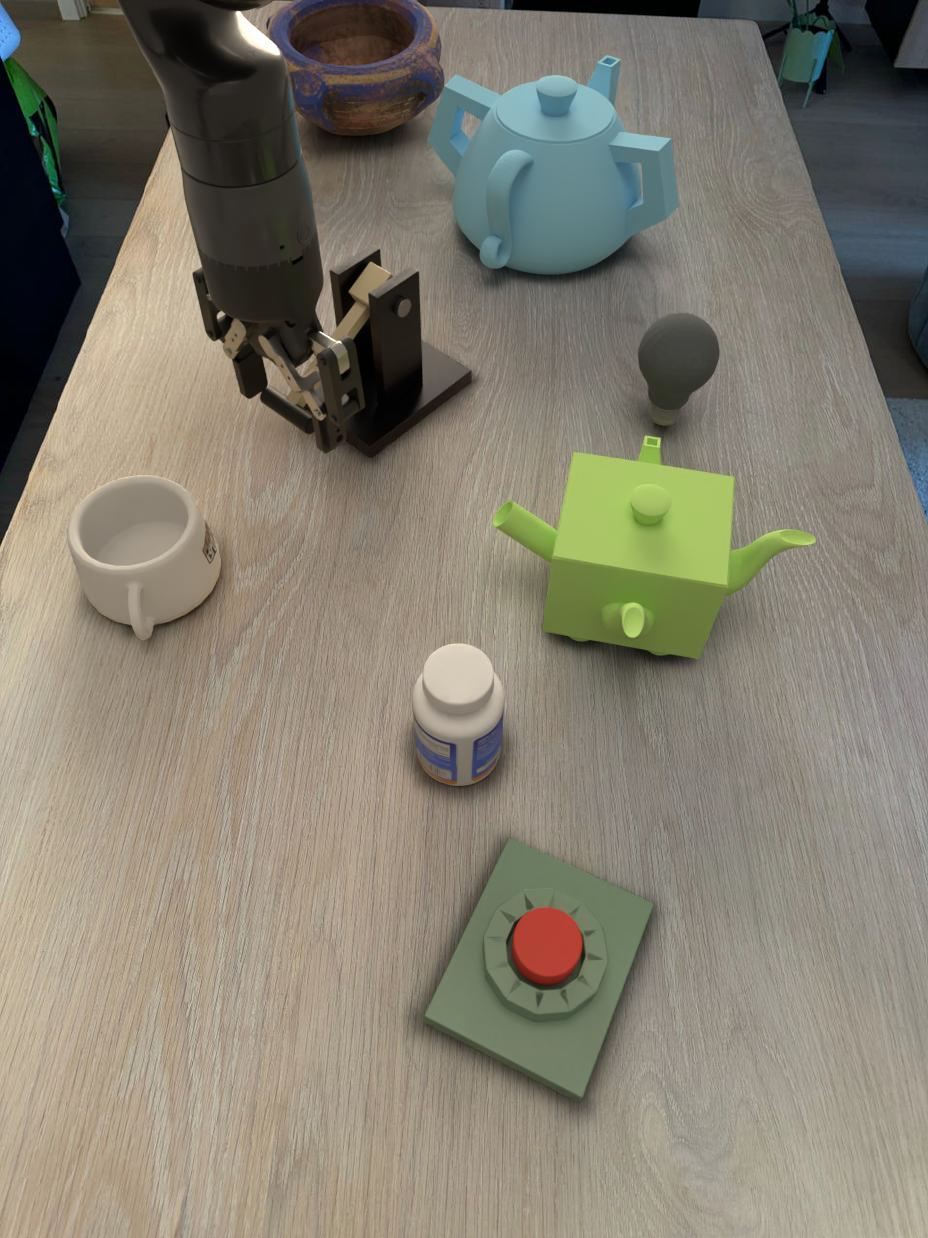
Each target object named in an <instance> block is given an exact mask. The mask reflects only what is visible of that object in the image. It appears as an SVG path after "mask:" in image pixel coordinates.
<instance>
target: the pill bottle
mask: <svg viewBox="0 0 928 1238" xmlns="http://www.w3.org/2000/svg"><path fill="white" fill-rule="evenodd" d="M411 699H412V701H411V702H412V705H411V706H412V716H413V718H412V719H413V728H414V741H415V751H416V755H417V759H418V762H419V764H420V765H421V767H422V769H423V770H424V772H425V773H426V774H427V775H428V776H429V777H430V778H431V779H433V780H435V781H437V782H439V783H442V784H444V785H448V786H453V787H454V786H455V787H463V786H470V785H474V784H476V783H478V782H480V781H482V780H484V779H485V778H486V777H488V776H489V775H490V774H491V773H492V771H494V769H495V768H496V766H497V764H498V762H499V759H500V754H501V752H502V751H501V750H502V742H503V741H502V740H503V730H504V729H503V727H504V715H505V700H506V699H505V690H504V687H503V684H502V682H501V679H500V678H499V676H498V675H497V674H496V672H494V667H493V664H492V662H491V660H490V659H489V657H488V656H487V655H486V653H484V651H482V650H481V649H479V648H477V647H476V646H474V645H472V644H471V645H470V644H467V643H450V644H449V643H448V644H445V645H443V646H441V647H439V648H437V649H436V650H434V651H433V652H431V654H430V655H429V656H428V658H427V659H426V661H425V663H424V665H423V669H422V672H421V674H420V675H419V677H418V678H417V680H416V682H415V684H414V688H413V691H412V698H411Z"/></svg>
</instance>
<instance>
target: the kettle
mask: <svg viewBox="0 0 928 1238" xmlns="http://www.w3.org/2000/svg"><path fill="white" fill-rule="evenodd" d="M661 440H662V438H661V437H657V436H651V435H644V438H643V441H642V444H641V447H640V451H639V455H638V457H637V460H633V459H627V458H626V459H625V458H619V457H611V456H605V455H599V454H592V453H586V452H585V453H584V452H578V451H574V452H572V457H571V461H570V465H569V469H568V474H567V475H568V476H567V481H566V486H565V491H564V495H563V501H562V506H561V511H560V516H559V522H558V525H557V529H555V528H554V527H553V526H551V525H550V524H548V523H547V522H545V521H544V520H542V519H540V518H539V517H538V516H536V515H535V514H534V513H531V512H530V511H528V510H527V509H525V508H524V507H523V506H521V505H520V504H518V503H517V502H515V501H514V500H512V499H509V500H507V501H505V502H503V504H501V506H499V508H498V509H497V511H496V512H495V514H494V516H493V519H492V526H493V527H494V528H496V529H497V530H498V531H500V532H502V533H503V534H505V535H506V536H508V537H509V538H511V539H512V540H514V541H515V542H517V543H518V544H520V545H521V546H523V547H524V548H526V549H527V550H529V551H530V552H532V553H534V554H535V555H537V556H538V557H539V558H541V559H543V560H544V561H545V562H547V563H549V564H550V571H549V577H548V582H547V583H548V584H547V591H546V597H545V606H544V613H543V619H542V628H541V632H545V633H550V634H556V635H561V636H568V637H569V638H570V639H571V640H574V641H576V642H588V641H595V642H600V643H606V644H612V645H616V646H623V647H628V648H632V649H633V648H634V649H640V650H644V651H648V652H650V654H652V655H655V656H660V657H661V656H667V655H672V656H673V655H674V656H678V657H684V658H691V659H697V660H700V659H701V655H702V654H703V651H704V649H705V646H706V643H707V642H708V639H709V636H710V633H711V631H712V629H713V626H714V624H715V621H716V619H717V616H718V613H719V611H720V609H721V606H722V604H723V601H724V599H725V597H728V596H732V595H734V594H736V593H737V592H740V591H741V590H743V589H744V588H745V587H746V586H748V585H749V584H750V583H751V582H752V580H754V579H755V578H756V577H757V575H758V574H759V573H760V572H761V570H762V569H763V568H764V567H765V566H766V565H767V564H768V563H769V562H770V561H771V560H772V559H774V557H776V556H777V555H779V554H780V553H782V552H783V553H784V552H785V551H787V550H791V549H796V548H802V547H808V546H811V545H813V544H814V543H816V541H817V538H816V537H815V536H814V534H811V533H809V532H806V531H803V530H798V529H778V530H773V531H771V532H768V533H765V534H763V535H762V536H760V537H758V538H756V539H755V540H754V541H752V542H750V543H749V544H747V545H745V546H744V547H741V548H736V549H731V548H732V531H733V517H734V502H735V500H734V499H735V486H736V485H735V484H736V477H735V476H731V475H725V474H720V473H714V472H706V471H701V470H695V469H688V468H684V467H683V468H682V467H677V466H671V465H663V464H662V452H661V451H662V450H661Z"/></svg>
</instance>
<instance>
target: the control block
mask: <svg viewBox="0 0 928 1238" xmlns="http://www.w3.org/2000/svg"><path fill="white" fill-rule="evenodd" d="M654 906H655V903H653V902H652V901H650V900H648V899H645V898H643V897H641V896H639V895H637V894H635V893H632V892H630V891H628V890H626V889H623V888H621V887H619V886H617V885H615V884H613V883H610V882H608V881H607V880H604V879H602V878H599V877H598V876H595V875H593V874H591V873H589V872H587V871H584V870H582V869H580V868H578V867H575V866H573V865H571V864H569V863H566V862H565V861H563V860H560V859H559V858H555V857H554V856H551V855H549V854H547V853H545V852H543V851H541V850H538V849H536V848H534V847H532V846H529V845H527V844H526V843H523V842H521V841H519V840H517V839H514V838H512V837H508V838H507V840H506V842H505V845H504V847H503V848H502V851H501V852H500V855H499V857H498V859H497V861H496V863H495V866H494V867H493V870H492V872H491V873H490V876H489V878H488V880H487V882H486V885H485V887H484V889H483V890H482V893H481V895H480V897H479V899H478V901H477V903H476V905H475V908H474V910H473V912H472V914H471V916H470V917H469V919H468V922H467V923H466V925H465V929H464V930H463V932H462V935H461V937H460V939H459V940H458V943H457V945H456V947H455V949H454V951H453V954H452V956H451V957H450V960H449V962H448V964H447V967H446V968H445V970H444V973H443V975H442V976H441V979H440V981H439V983H438V985H437V987H436V990H435V992H434V993H433V996H432V998H431V1000H430V1002H429V1004H428V1006H427V1008H426V1010H425V1012H424V1014H423V1016H424V1023H425V1024H427V1025H428V1026H429V1027H430V1026H431V1027H432V1028H434V1029H436V1030H438V1031H440V1032H442V1033H444V1034H446V1035H448V1036H450V1037H451V1038H453V1039H455V1040H458V1041H459V1042H461V1043H463V1044H465V1045H467V1046H469V1047H470V1048H473V1049H474V1050H476V1051H478V1052H480V1053H482V1054H484V1055H486V1056H487V1057H490V1058H491V1059H493V1060H495V1061H498V1062H499V1063H501V1064H503V1065H505V1066H507V1067H509V1068H511V1069H512V1070H515V1071H516V1072H519V1073H521V1074H523V1075H524V1076H526V1077H528V1078H530V1079H532V1080H534V1081H536V1082H538V1083H540V1084H542V1085H544V1086H545V1087H548V1088H549V1089H552V1090H553V1091H554V1092H557V1093H559V1094H561V1095H563V1096H565V1097H566V1098H569V1099H571V1100H572V1101H573V1102H574V1101H575V1102H576V1103H580V1102H581V1100H582V1099H583V1098H584V1096H585V1093H586V1090H587V1088H588V1085H589V1083H590V1080H591V1076H592V1075H593V1071H594V1068H595V1066H596V1063H597V1061H598V1058H599V1055H600V1053H601V1050H602V1047H603V1043H604V1041H605V1039H606V1036H607V1034H608V1031H609V1028H610V1025H611V1022H612V1020H613V1016H614V1015H615V1011H616V1009H617V1006H618V1004H619V1001H620V998H621V996H622V992H623V990H624V988H625V985H626V982H627V979H628V976H629V974H630V971H631V969H632V966H633V963H634V960H635V958H636V955H637V952H638V949H639V947H640V944H641V941H642V938H643V936H644V933H645V930H646V928H647V925H648V922H649V920H650V917H651V914H652V911H653V909H654ZM540 907H552V908H556V909H559V910H561V911H563V912H565V913H566V914H568V915H569V916H570V917H571V918H572V919H573V920H574V921H575V922H576V924H577V926H578V928H579V930H580V932H581V936H582V943H583V945H582V953H581V956H580V958H579V961H578V963H577V966H576V968H575V970H574V971H573V973H572V974H571V975H570V976H569V977H568V978H567V979H565V980H564V981H562V982H560V983H557V984H553V985H541V984H537V983H534V982H532V981H530V980H528V979H527V978H526V977H524V976H523V975H522V974H521V973H520V971H519V970H518V969H517V967H516V965H515V963H514V960H513V957H512V940H513V935H514V930H515V928H516V925H517V923H518V922H519V920H520V919H521V918H522V917H523V916H524V915H525V914H526V913H528V912H529V911H531V910H533V909H536V908H540Z"/></svg>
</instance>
